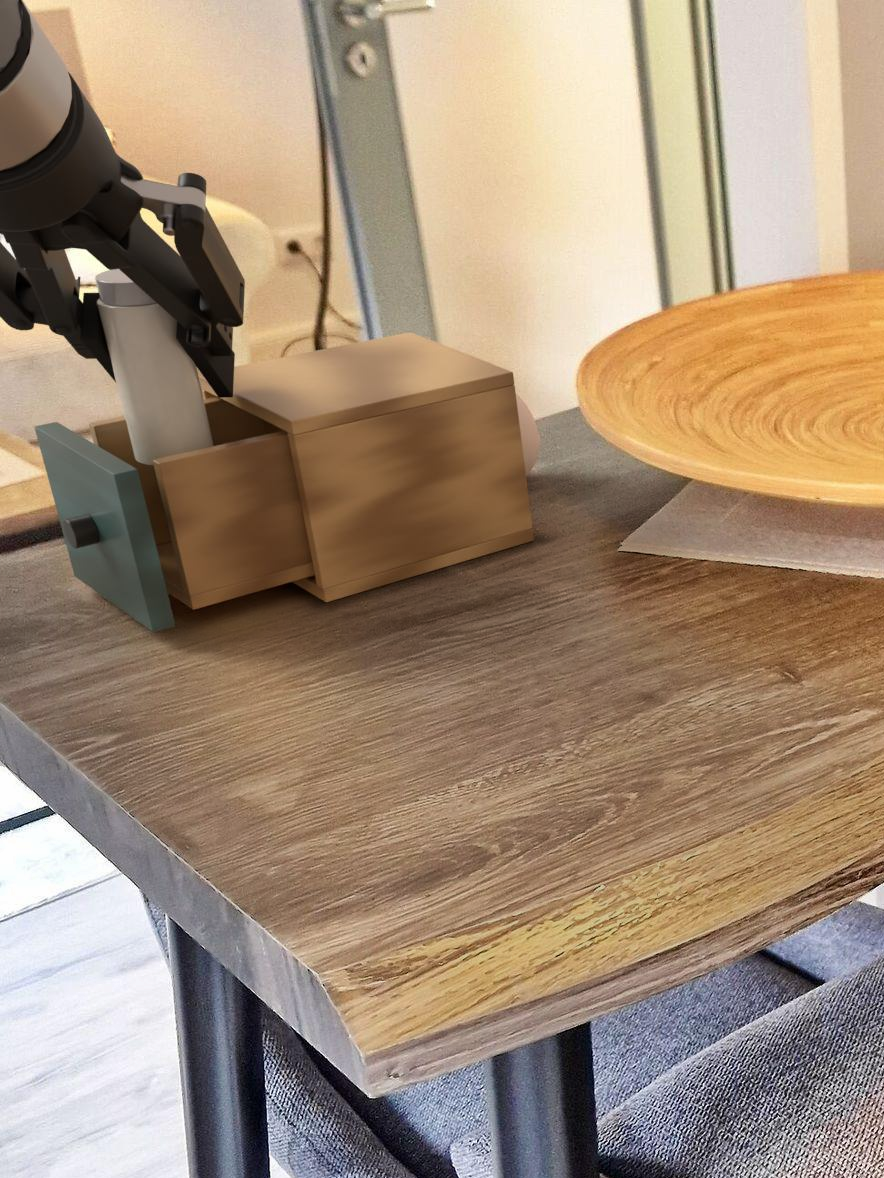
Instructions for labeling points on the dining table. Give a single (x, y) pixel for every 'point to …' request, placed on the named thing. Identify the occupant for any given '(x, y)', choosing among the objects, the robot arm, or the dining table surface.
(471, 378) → the cabinet
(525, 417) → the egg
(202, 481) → the drawer
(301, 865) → the dining table surface
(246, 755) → the dining table surface
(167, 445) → the salt shaker
